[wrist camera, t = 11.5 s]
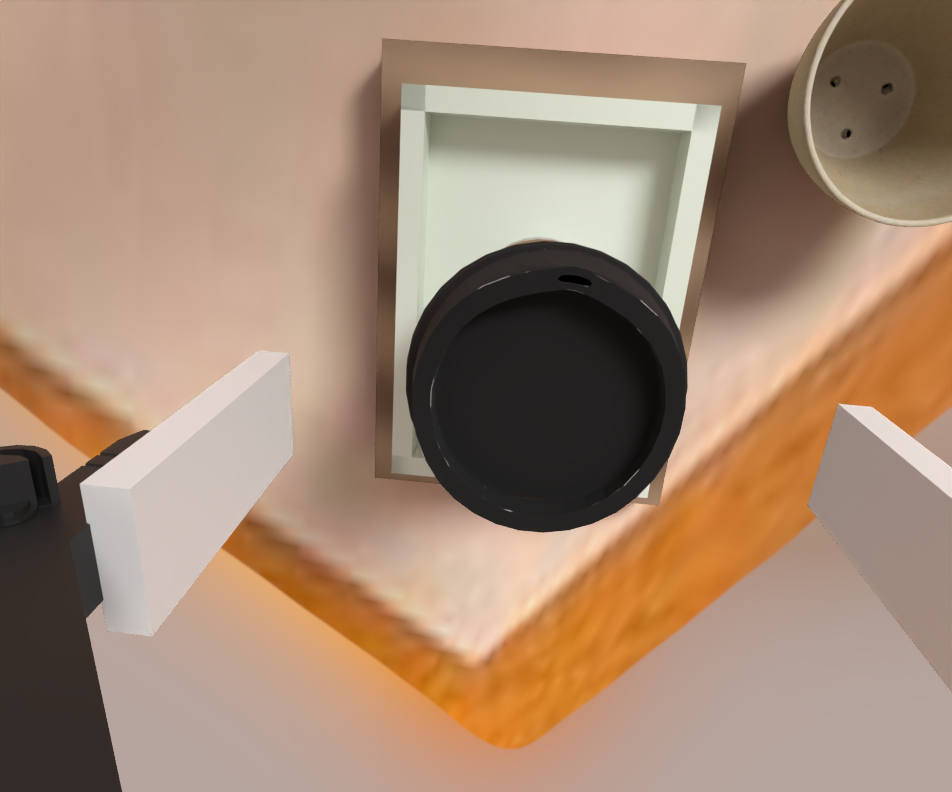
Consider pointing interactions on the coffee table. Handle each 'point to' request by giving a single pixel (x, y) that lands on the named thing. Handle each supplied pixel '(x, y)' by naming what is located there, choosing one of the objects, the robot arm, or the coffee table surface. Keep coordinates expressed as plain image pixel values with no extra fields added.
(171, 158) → the coffee table surface
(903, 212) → the flower pot
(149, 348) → the coffee table surface
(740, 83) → the shelf board
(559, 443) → the coffee cup
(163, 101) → the coffee table surface
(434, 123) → the tray
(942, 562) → the robot arm
